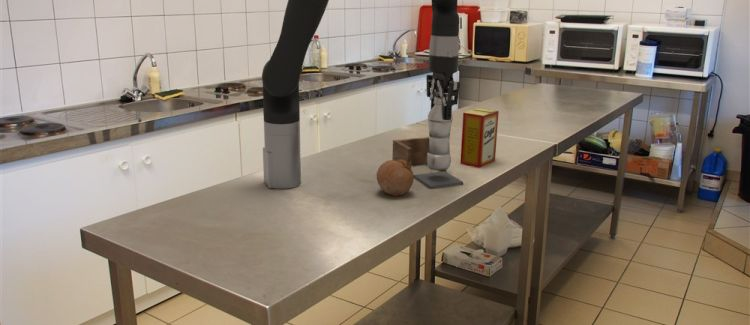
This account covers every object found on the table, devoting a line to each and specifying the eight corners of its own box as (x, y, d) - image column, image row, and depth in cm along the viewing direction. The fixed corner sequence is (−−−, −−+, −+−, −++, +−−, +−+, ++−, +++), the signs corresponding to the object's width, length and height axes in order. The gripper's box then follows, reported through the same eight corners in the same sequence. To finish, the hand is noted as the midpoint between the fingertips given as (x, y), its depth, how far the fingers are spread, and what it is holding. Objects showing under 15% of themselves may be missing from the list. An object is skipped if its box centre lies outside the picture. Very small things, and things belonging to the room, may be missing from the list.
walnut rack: (407, 176, 172) (408, 148, 170) (392, 166, 181) (392, 140, 179) (446, 172, 177) (447, 145, 175) (429, 162, 186) (431, 136, 184)
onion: (408, 203, 161) (426, 170, 158) (391, 204, 153) (410, 169, 150) (380, 183, 165) (398, 151, 163) (363, 183, 157) (381, 149, 154)
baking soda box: (479, 168, 181) (483, 114, 177) (460, 163, 185) (463, 111, 181) (494, 161, 189) (498, 109, 184) (476, 157, 192) (479, 106, 188)
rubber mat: (430, 188, 163) (430, 185, 162) (413, 177, 171) (413, 175, 171) (463, 184, 166) (463, 181, 166) (445, 174, 175) (445, 171, 175)
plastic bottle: (449, 174, 164) (453, 99, 159) (424, 172, 166) (427, 98, 160) (451, 167, 170) (455, 95, 165) (426, 165, 172) (430, 94, 166)
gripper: (418, 50, 164) (415, 112, 169) (444, 57, 151) (441, 124, 156) (443, 49, 167) (440, 111, 172) (471, 56, 154) (466, 122, 159)
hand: (440, 116), depth 164 cm, fingers closed on plastic bottle, 6 cm apart
